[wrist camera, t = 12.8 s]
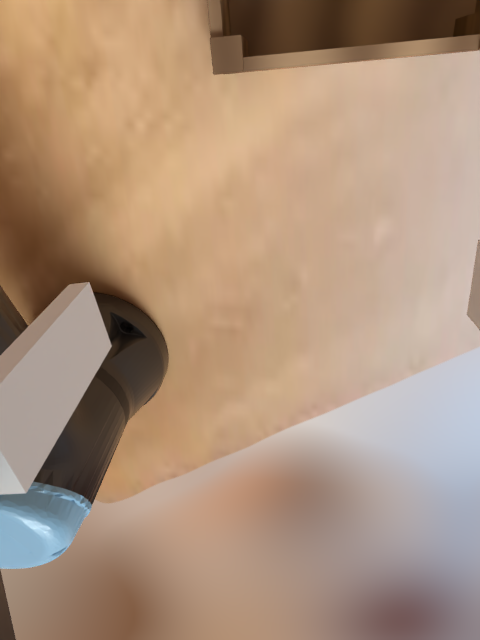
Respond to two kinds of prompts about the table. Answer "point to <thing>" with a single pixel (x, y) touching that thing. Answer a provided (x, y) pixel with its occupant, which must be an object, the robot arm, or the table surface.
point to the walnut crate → (336, 31)
